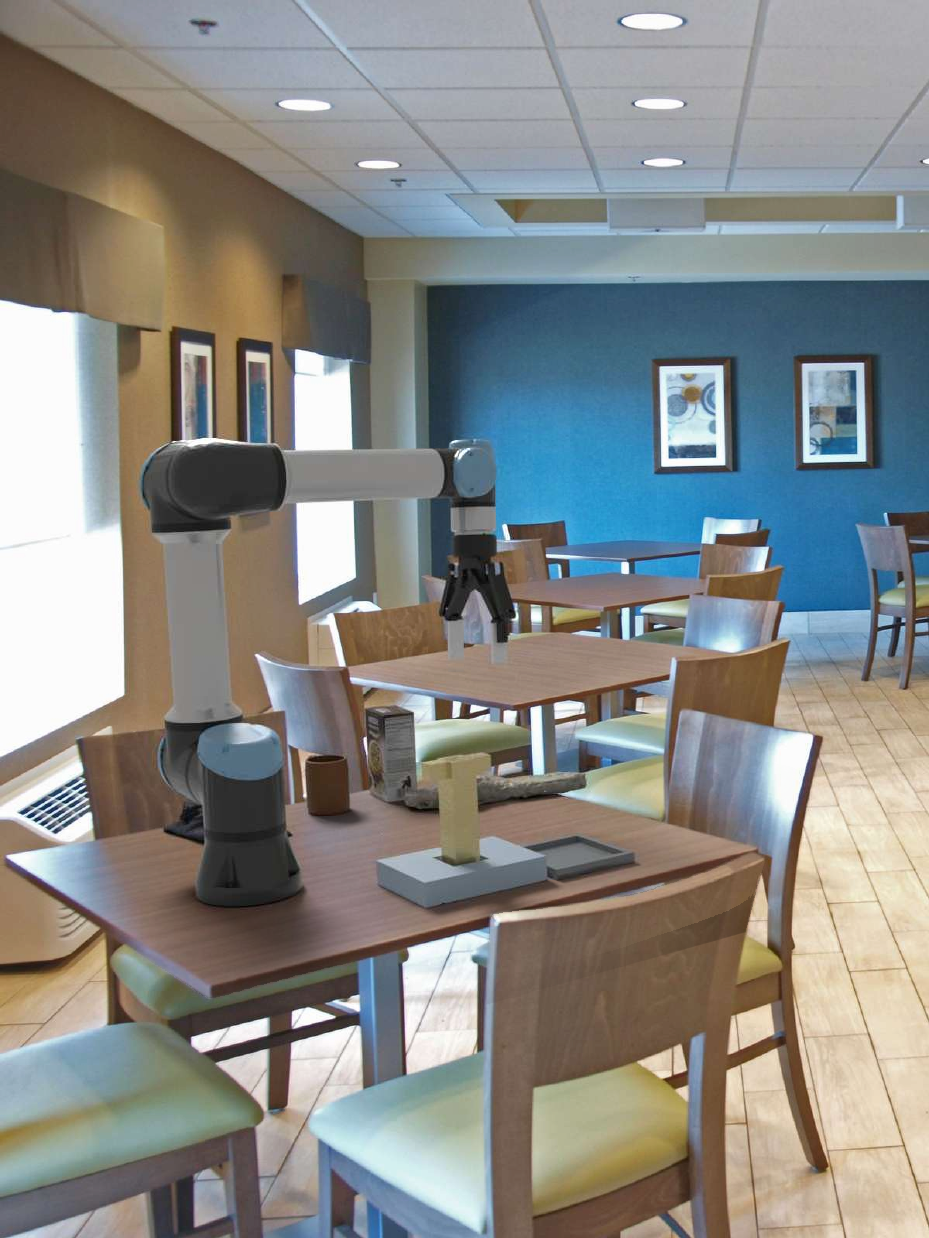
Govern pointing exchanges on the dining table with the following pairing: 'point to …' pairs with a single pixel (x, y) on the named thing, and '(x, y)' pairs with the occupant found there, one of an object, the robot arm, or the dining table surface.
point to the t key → (458, 804)
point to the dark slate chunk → (191, 822)
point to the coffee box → (391, 752)
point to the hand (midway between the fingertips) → (477, 661)
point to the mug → (327, 784)
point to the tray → (579, 855)
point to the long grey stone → (505, 788)
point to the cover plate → (460, 873)
